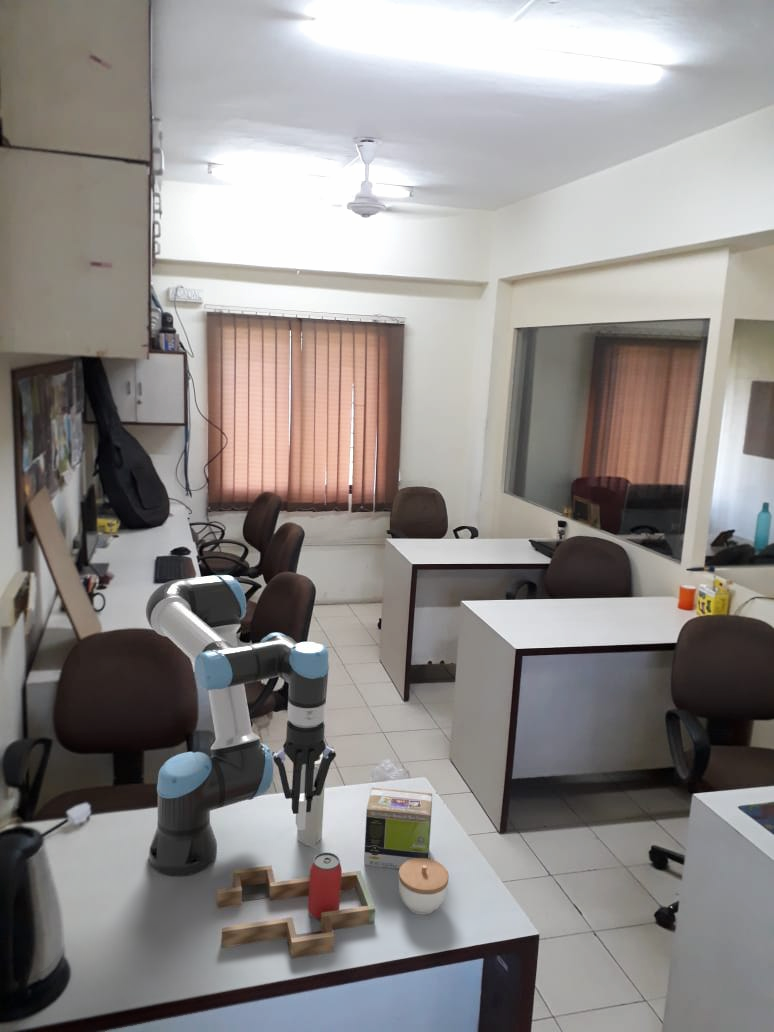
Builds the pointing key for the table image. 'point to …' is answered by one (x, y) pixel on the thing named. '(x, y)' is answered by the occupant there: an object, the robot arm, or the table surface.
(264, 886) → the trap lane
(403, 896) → the lidded jar
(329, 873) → the beer can
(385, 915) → the table surface
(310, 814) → the paper towel roll
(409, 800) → the tea box
